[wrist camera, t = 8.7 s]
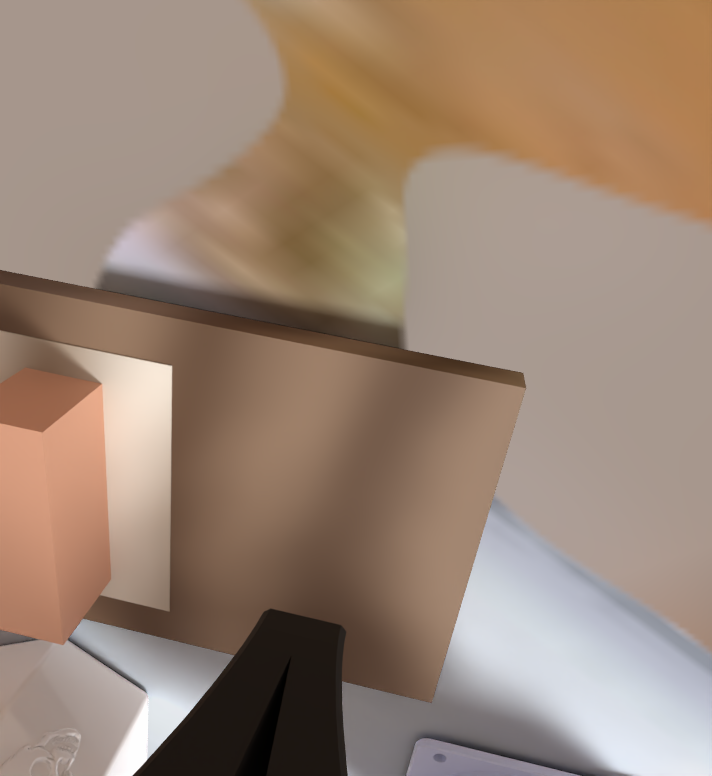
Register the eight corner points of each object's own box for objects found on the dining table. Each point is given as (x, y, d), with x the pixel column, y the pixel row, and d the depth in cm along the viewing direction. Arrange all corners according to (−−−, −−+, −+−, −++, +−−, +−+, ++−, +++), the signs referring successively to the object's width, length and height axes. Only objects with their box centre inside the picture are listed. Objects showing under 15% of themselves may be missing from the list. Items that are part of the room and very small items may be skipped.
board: (522, 373, 18) (526, 388, 17) (433, 679, 24) (431, 703, 23) (-122, 245, 19) (-152, 254, 18) (-56, 562, 25) (-77, 580, 24)
